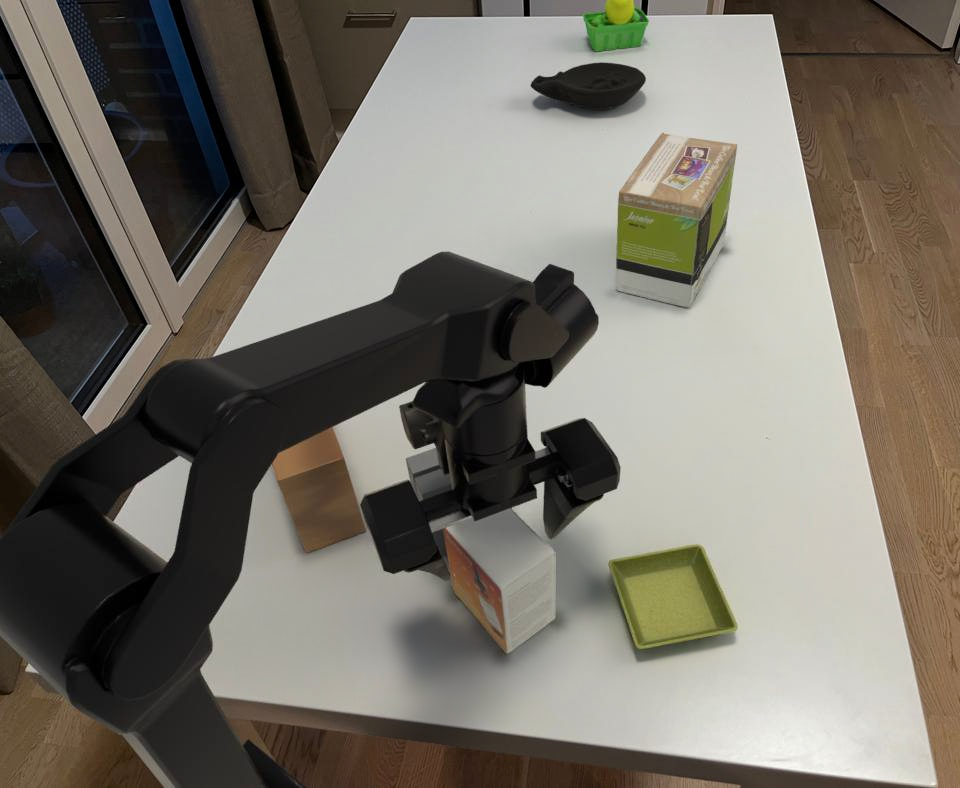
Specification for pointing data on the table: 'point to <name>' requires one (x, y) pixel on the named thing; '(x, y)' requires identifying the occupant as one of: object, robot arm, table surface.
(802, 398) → the table surface
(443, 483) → the grey grooved block
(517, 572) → the small box
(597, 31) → the fruit basket
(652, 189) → the tea box
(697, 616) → the green square tray
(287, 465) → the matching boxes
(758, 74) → the table surface
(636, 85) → the oil lamp
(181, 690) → the robot arm
